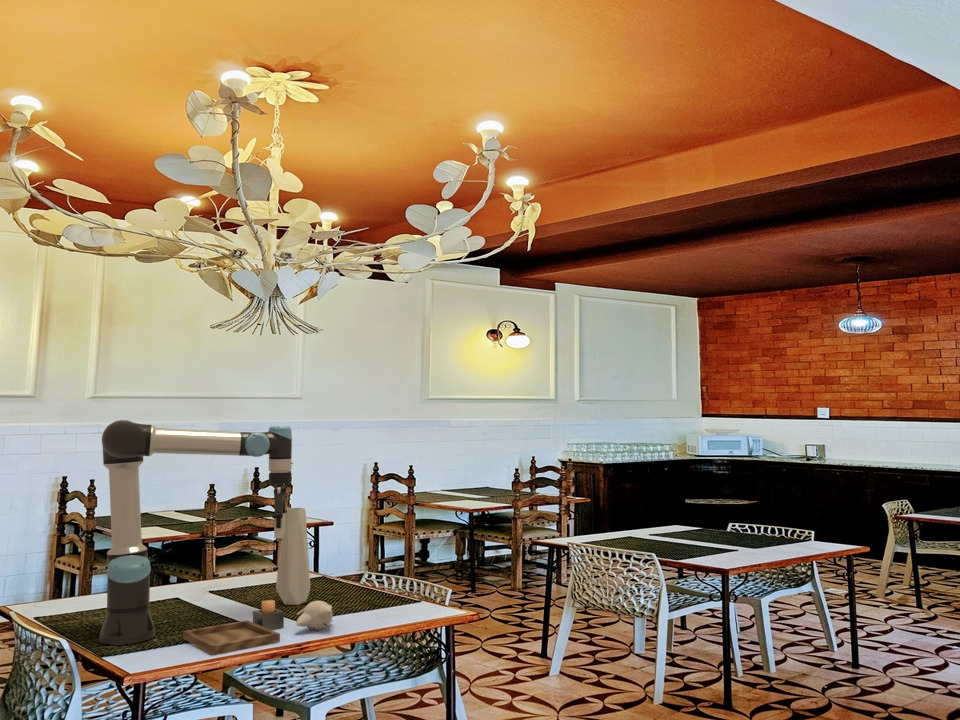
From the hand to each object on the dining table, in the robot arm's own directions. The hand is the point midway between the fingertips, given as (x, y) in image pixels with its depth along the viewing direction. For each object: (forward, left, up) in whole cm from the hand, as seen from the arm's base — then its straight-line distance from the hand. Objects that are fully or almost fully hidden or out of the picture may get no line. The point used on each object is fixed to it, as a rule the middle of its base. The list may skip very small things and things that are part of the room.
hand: (279, 535), depth 276 cm
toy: (-2, -27, -26) cm, 37 cm away
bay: (-27, -23, -26) cm, 43 cm away
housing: (-12, -16, -26) cm, 32 cm away
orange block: (-12, -16, -23) cm, 30 cm away
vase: (+11, +10, -26) cm, 30 cm away
